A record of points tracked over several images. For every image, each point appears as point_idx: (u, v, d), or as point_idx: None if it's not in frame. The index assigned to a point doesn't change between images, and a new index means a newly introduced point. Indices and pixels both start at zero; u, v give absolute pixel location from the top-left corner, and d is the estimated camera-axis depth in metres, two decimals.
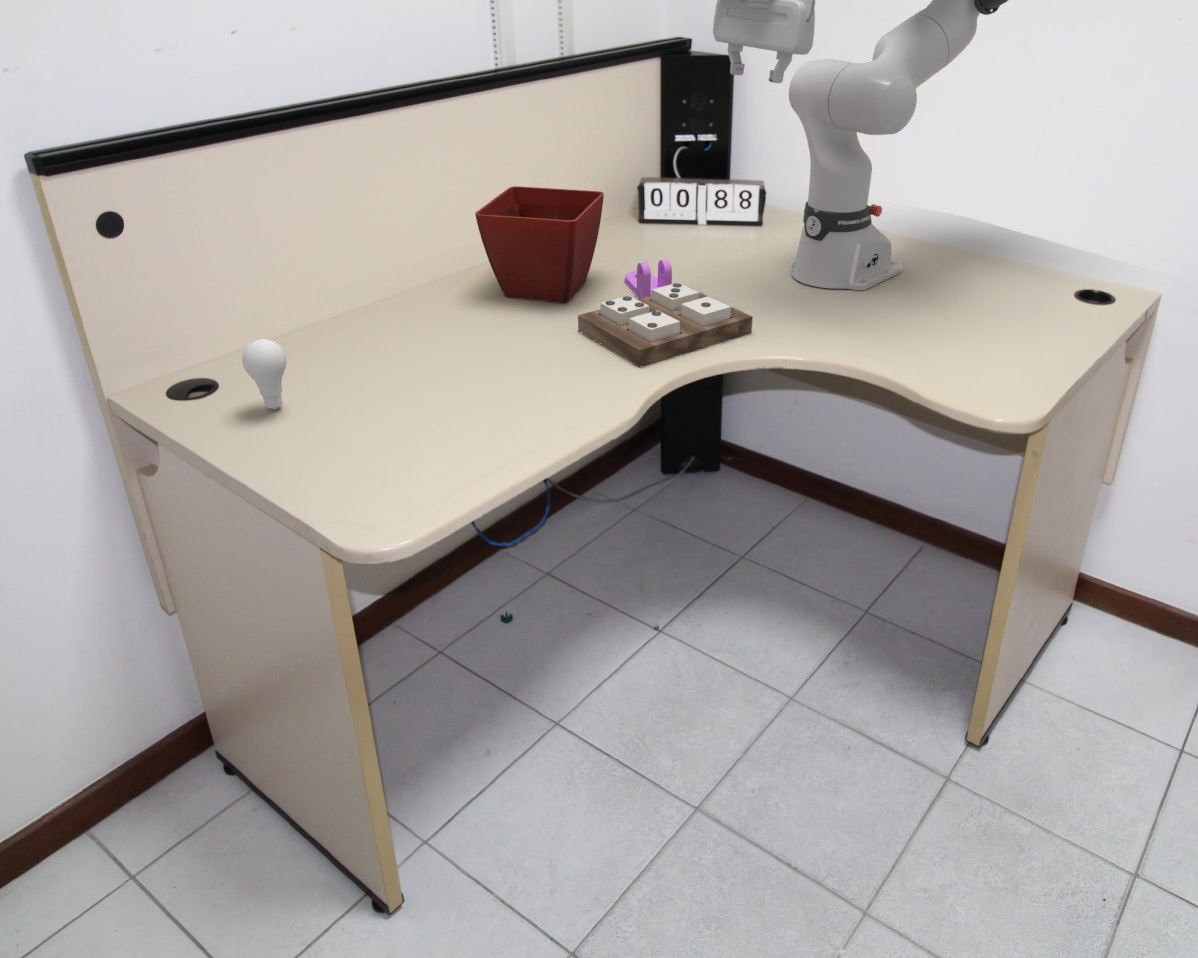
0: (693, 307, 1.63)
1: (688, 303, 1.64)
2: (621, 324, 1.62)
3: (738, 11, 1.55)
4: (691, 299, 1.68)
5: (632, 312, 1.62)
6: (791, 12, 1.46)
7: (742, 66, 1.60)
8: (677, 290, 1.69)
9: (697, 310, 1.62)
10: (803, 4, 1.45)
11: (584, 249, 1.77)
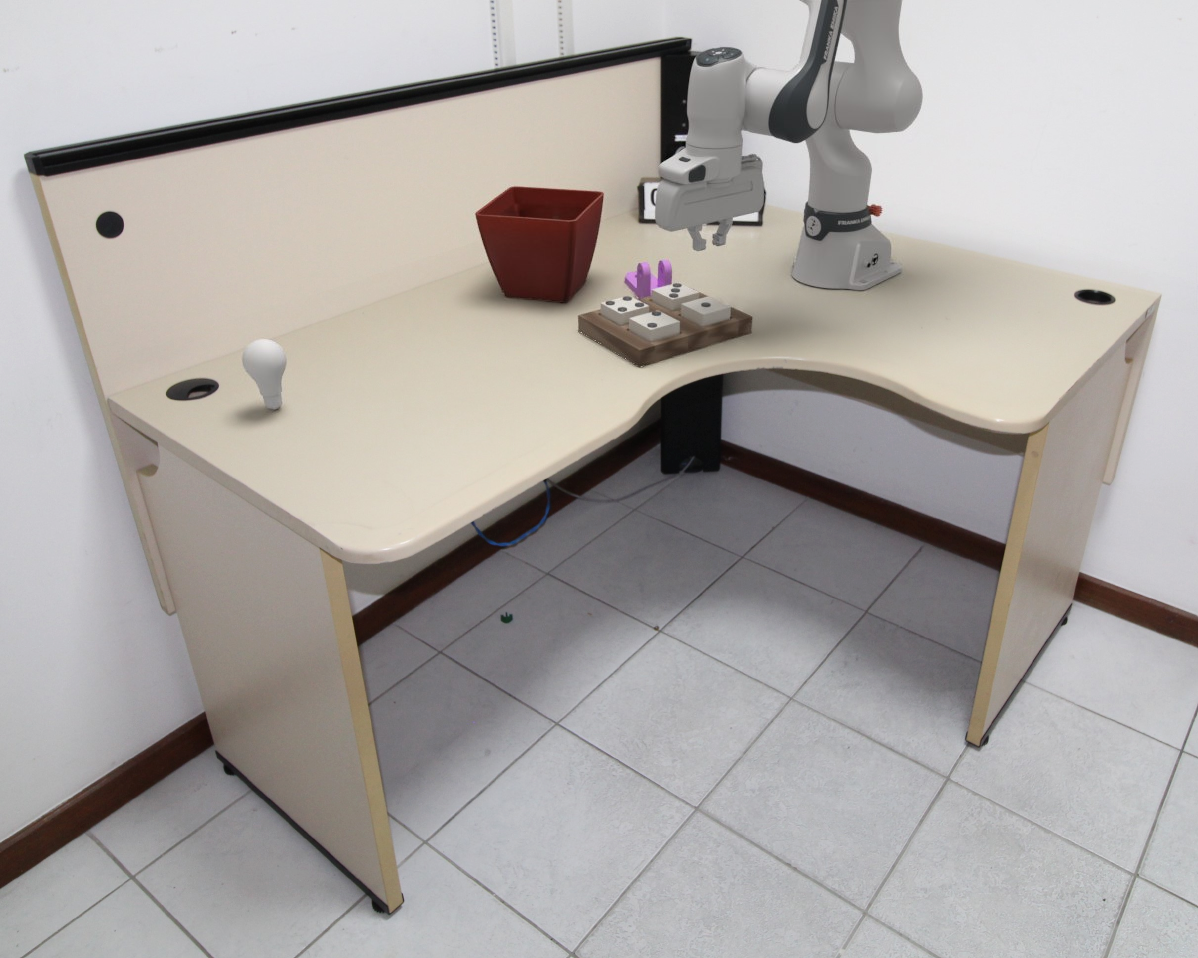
0: (693, 307, 1.63)
1: (688, 303, 1.64)
2: (621, 324, 1.62)
3: (695, 195, 1.50)
4: (691, 299, 1.68)
5: (632, 312, 1.62)
6: (756, 178, 1.55)
7: None
8: (677, 290, 1.69)
9: (697, 310, 1.62)
10: (757, 168, 1.56)
11: (584, 249, 1.77)
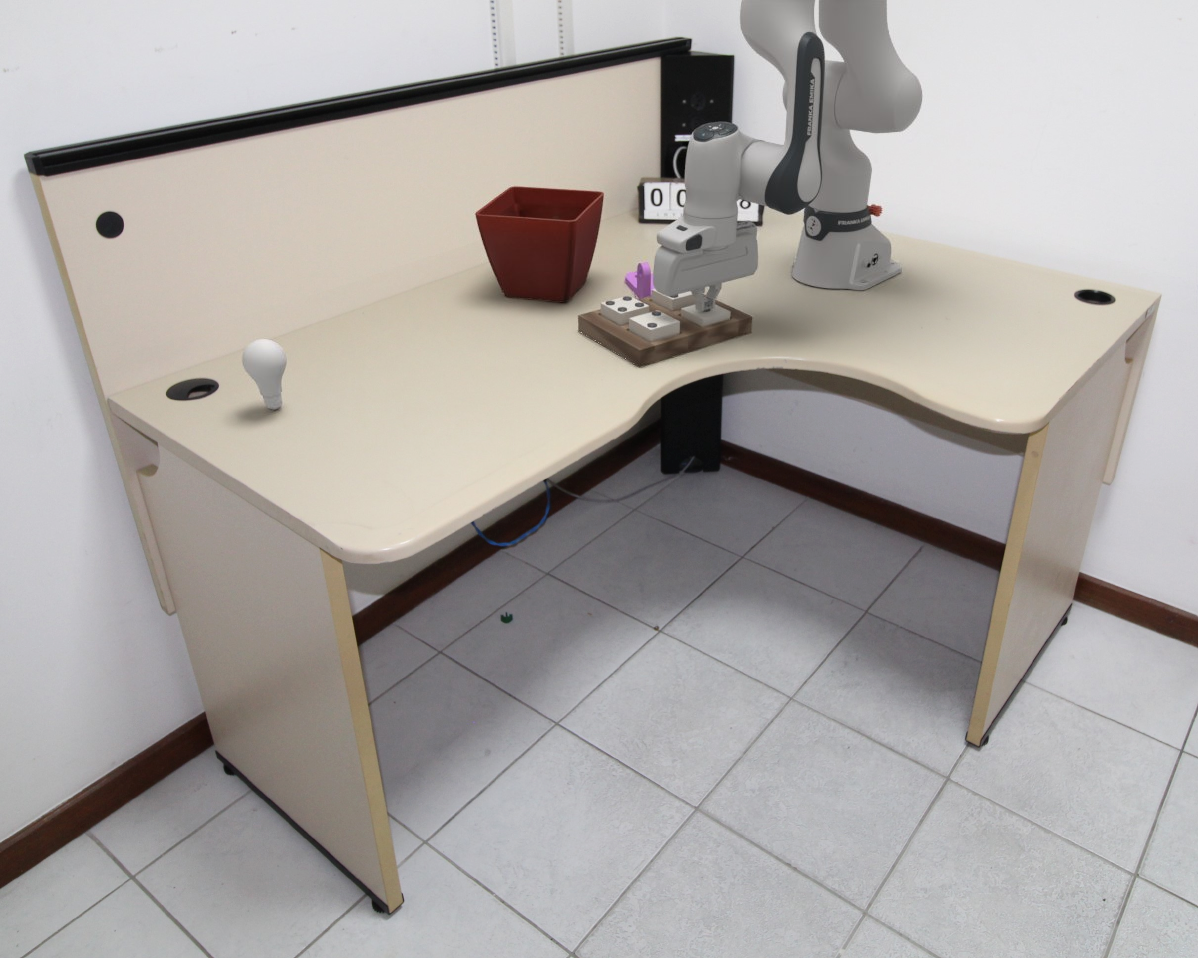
0: (692, 312, 1.63)
1: (688, 308, 1.65)
2: (621, 324, 1.62)
3: (691, 262, 1.55)
4: (691, 299, 1.68)
5: (632, 312, 1.62)
6: (751, 243, 1.60)
7: None
8: None
9: (696, 315, 1.62)
10: (751, 234, 1.61)
11: (584, 249, 1.77)
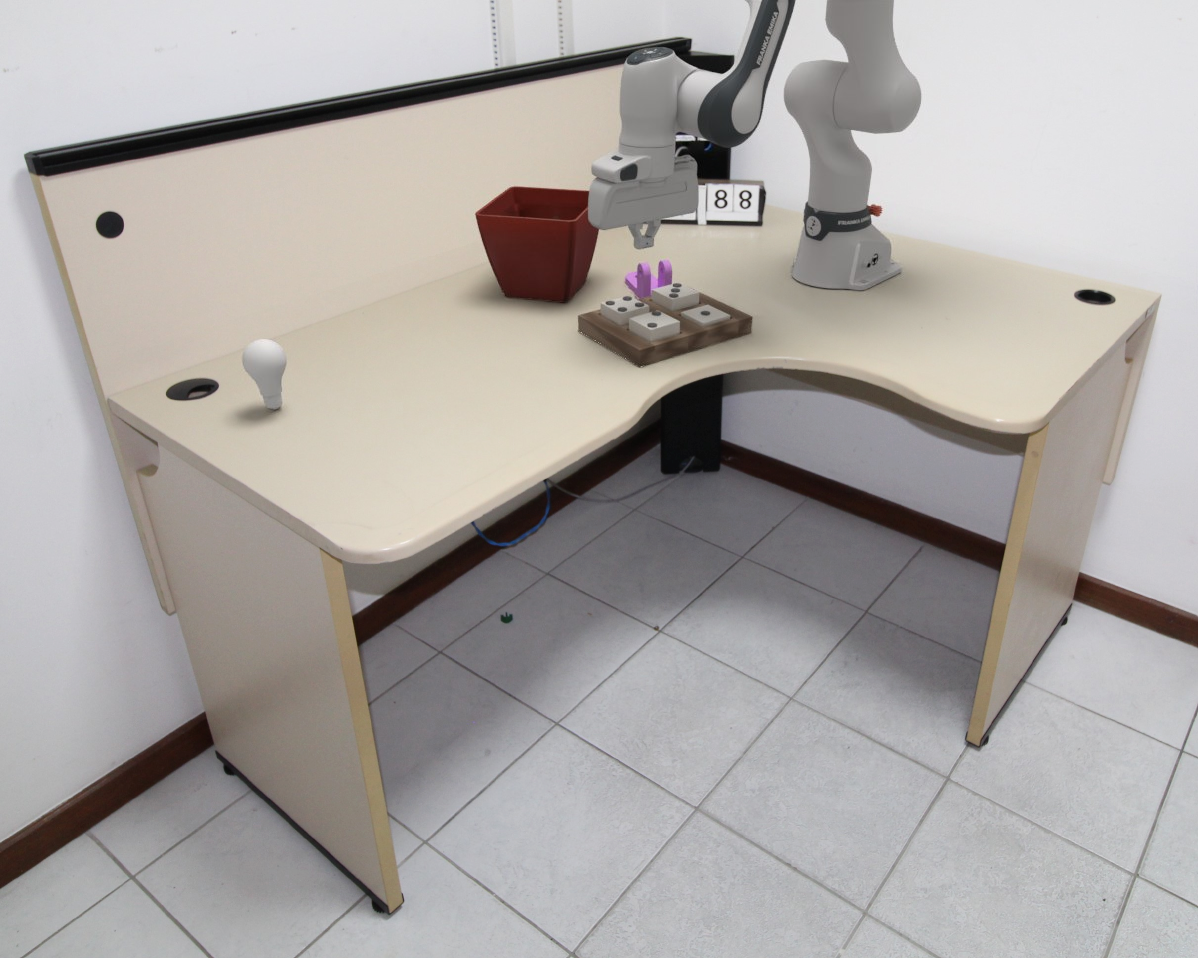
0: (692, 315, 1.63)
1: (688, 311, 1.65)
2: (621, 324, 1.62)
3: (627, 194, 1.49)
4: (691, 299, 1.68)
5: (632, 312, 1.62)
6: (690, 178, 1.55)
7: None
8: (677, 290, 1.69)
9: (696, 318, 1.62)
10: (691, 169, 1.56)
11: (584, 249, 1.77)
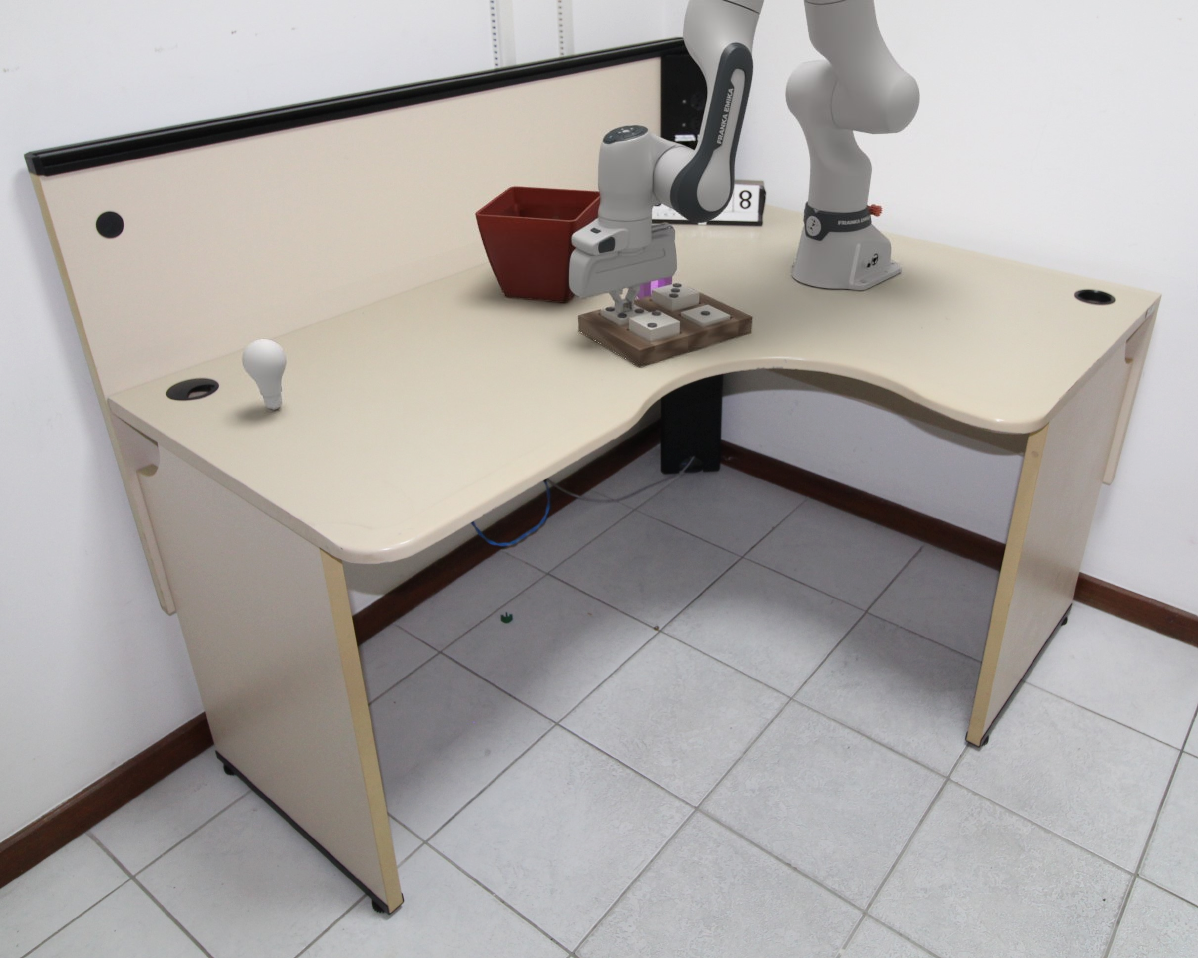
0: (692, 315, 1.63)
1: (688, 311, 1.65)
2: None
3: (606, 264, 1.56)
4: (691, 299, 1.68)
5: None
6: (668, 245, 1.61)
7: None
8: (677, 290, 1.69)
9: (696, 318, 1.62)
10: (669, 235, 1.62)
11: None
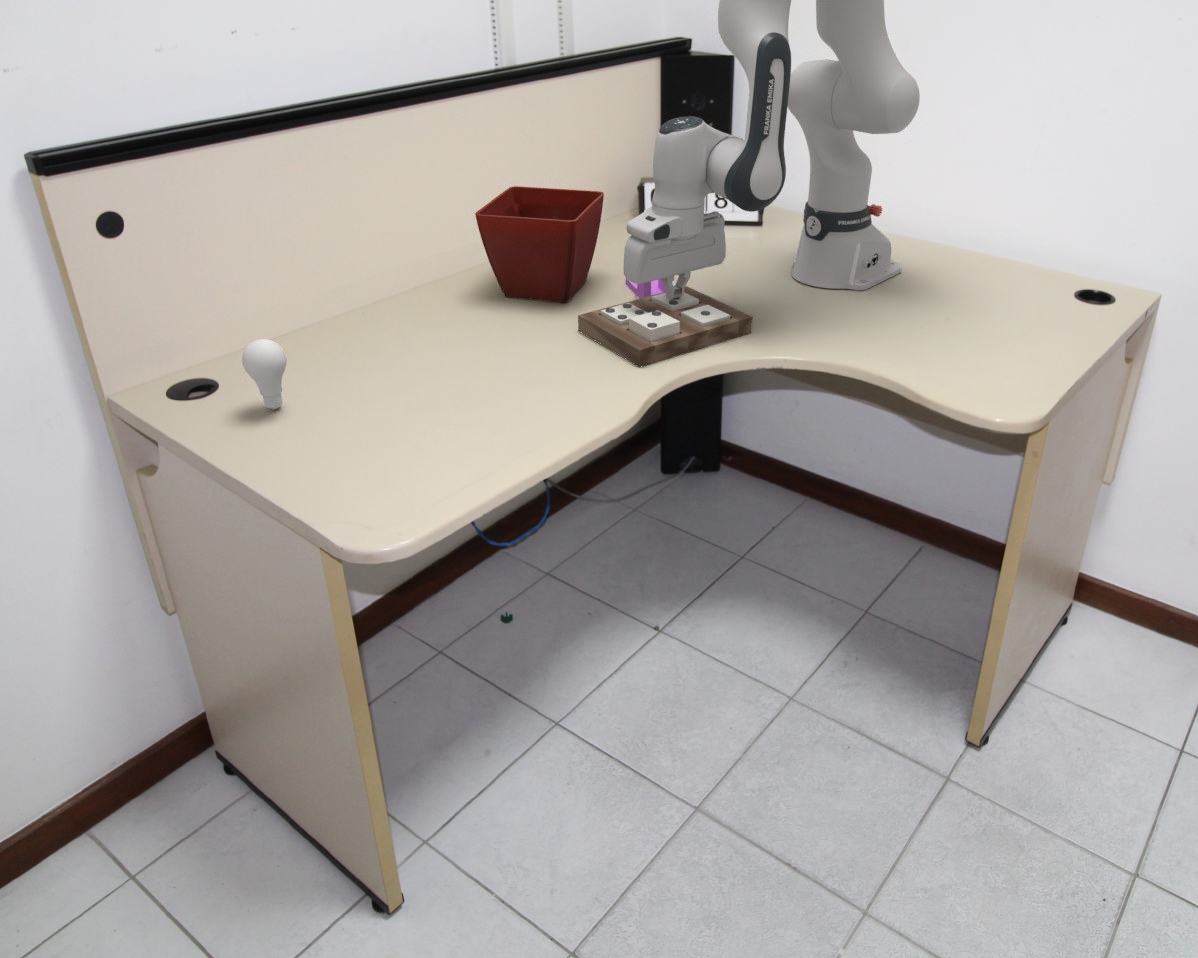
0: (692, 315, 1.63)
1: (688, 311, 1.65)
2: None
3: (660, 251, 1.61)
4: None
5: None
6: (718, 233, 1.67)
7: None
8: None
9: (696, 318, 1.62)
10: (719, 224, 1.67)
11: (584, 249, 1.77)
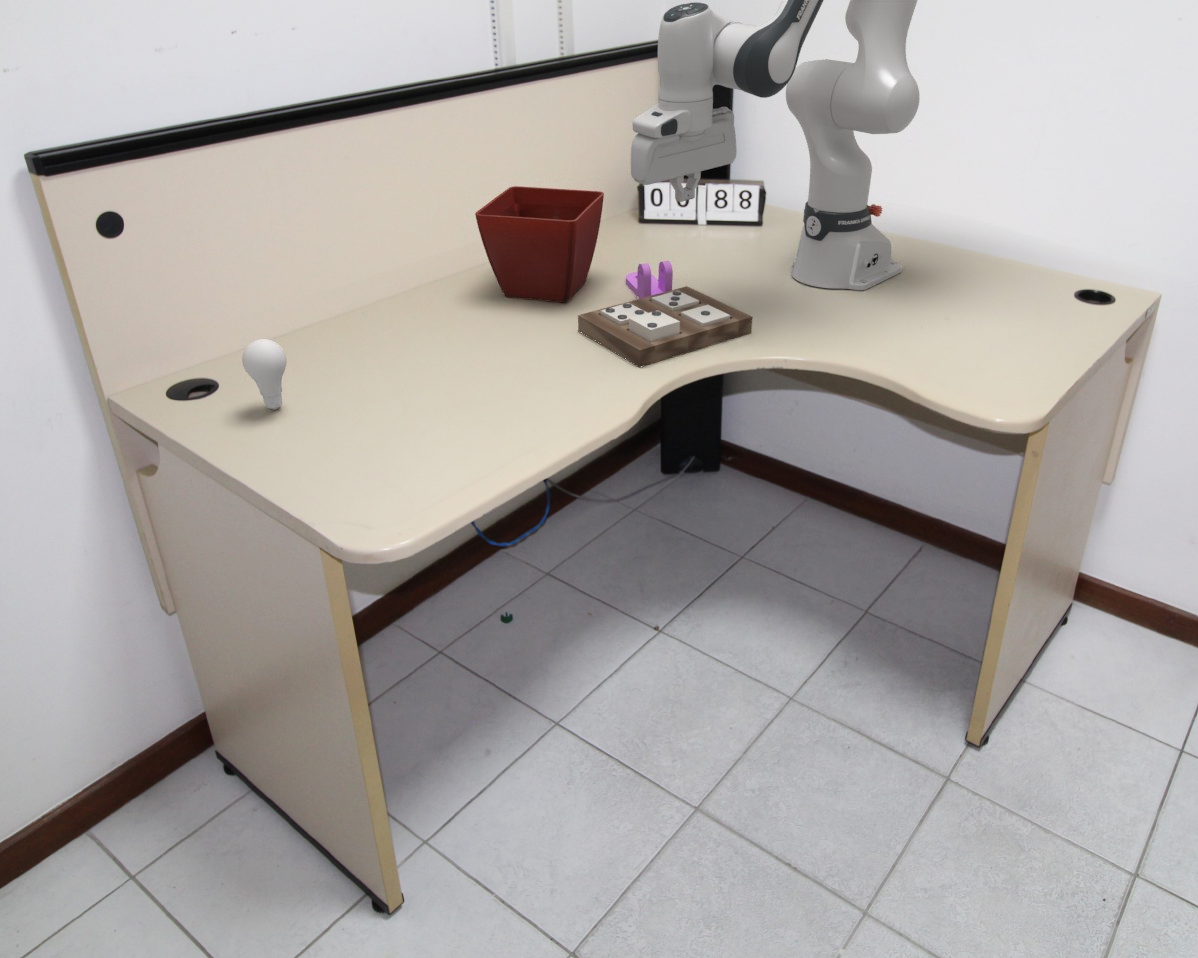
0: (692, 315, 1.63)
1: (688, 311, 1.65)
2: None
3: (668, 148, 1.55)
4: None
5: None
6: (728, 130, 1.60)
7: None
8: (677, 298, 1.70)
9: (696, 318, 1.62)
10: None
11: (584, 249, 1.77)
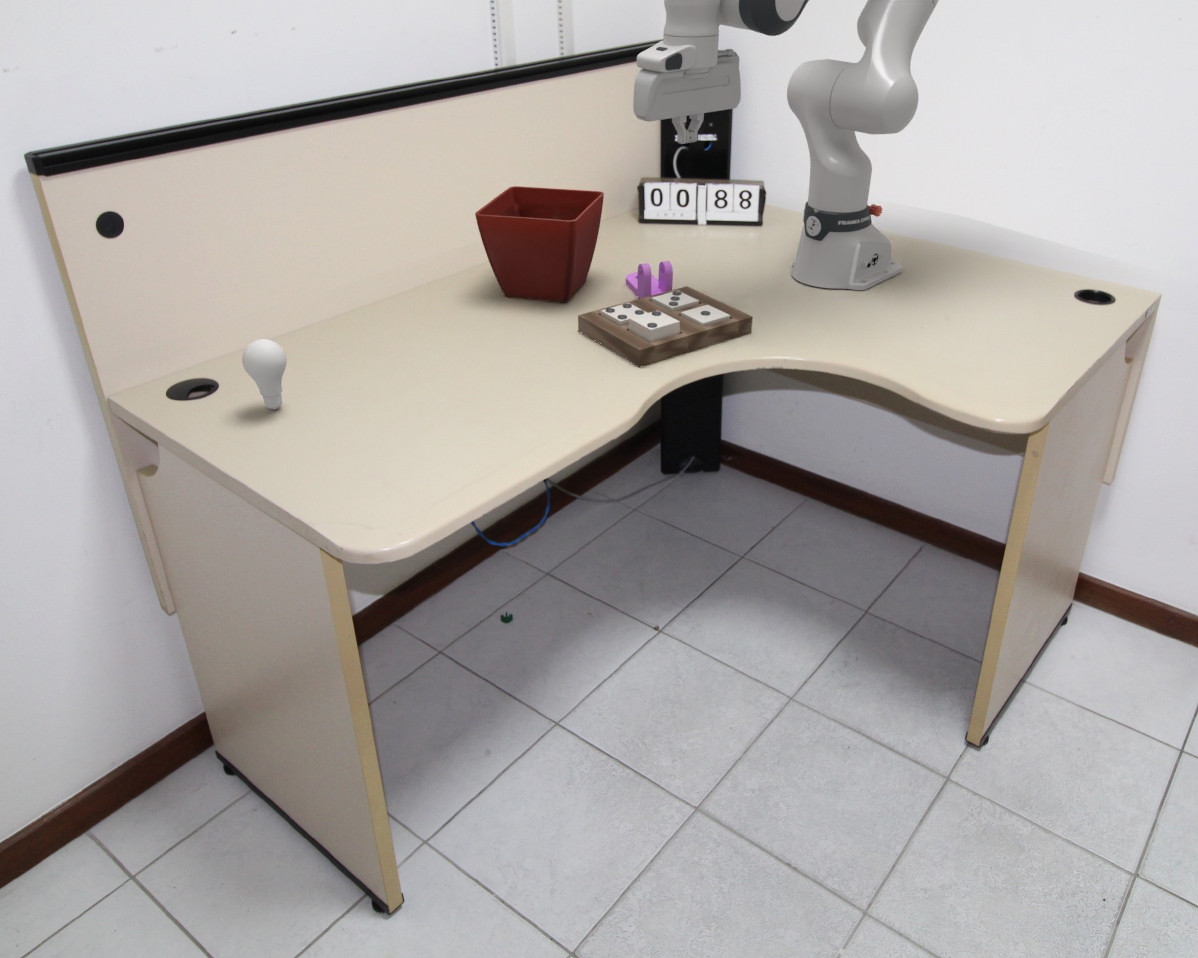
0: (692, 315, 1.63)
1: (688, 311, 1.65)
2: None
3: (672, 85, 1.53)
4: None
5: None
6: (733, 72, 1.58)
7: None
8: (677, 298, 1.70)
9: (696, 318, 1.62)
10: None
11: (584, 249, 1.77)
